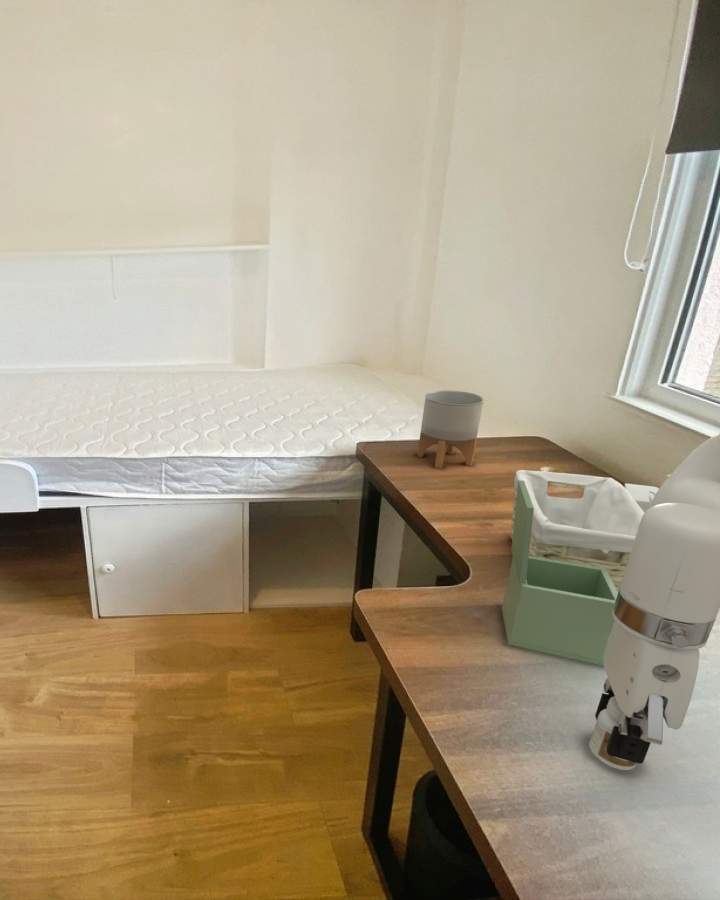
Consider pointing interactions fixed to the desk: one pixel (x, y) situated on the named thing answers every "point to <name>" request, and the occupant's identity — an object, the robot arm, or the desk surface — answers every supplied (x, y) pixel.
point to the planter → (450, 424)
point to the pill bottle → (603, 733)
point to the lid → (522, 531)
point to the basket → (581, 521)
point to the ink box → (642, 494)
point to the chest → (560, 609)
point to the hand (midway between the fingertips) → (617, 738)
